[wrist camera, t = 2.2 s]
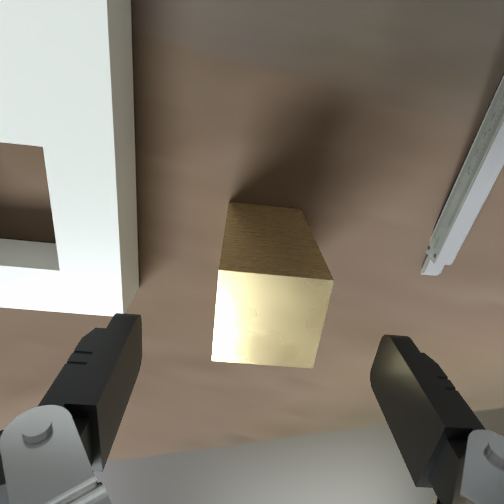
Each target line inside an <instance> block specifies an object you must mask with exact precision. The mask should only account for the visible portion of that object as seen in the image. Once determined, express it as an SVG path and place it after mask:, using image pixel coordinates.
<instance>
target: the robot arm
mask: <svg viewBox="0 0 504 504" xmlns="http://www.w3.org/2000/svg"><path fill="white" fill-rule="evenodd" d="M141 359H142V322H141V316H140V315H135V314H123V313H116V314H115V315H114V316H113V318H112V320H111V321H110V323H109V325H108V327H107V328H106V329H105V328H95V329H94V330H92V331H91V332H90V333H88V334H87V335H86V336H84V337H83V338H82V339H81V340H80V342H79V344H78V345H77V347H76V348H75V350H74V353H72V354H71V356H70V357H69V359H68V361H67V364H65V365H64V367H63V368H62V370H61V371H60V373H59V374H58V376H57V378H56V379H55V381H54V382H53V384H52V385H51V387H50V388H49V390H48V391H47V393H46V395H45V396H44V398H43V399H42V401H41V402H40V404H39V405H38V407H35V408H32V409H30V410H27V411H25V412H24V413H22V414H20V415H19V416H17V417H16V418H15V419H13V420H12V421H11V422H10V423H9V424H8V425H7V427H6V428H5V429H4V430H2V431H0V504H111V501H110V499H109V497H108V494H107V491H106V490H105V487H104V485H103V484H102V483H101V482H99V483H98V482H97V480H96V478H95V475H94V473H93V471H98V472H103V469H104V467H105V464H106V461H107V458H108V456H109V453H110V450H111V447H112V445H113V442H114V439H115V437H116V434H117V431H118V428H119V426H120V423H121V420H122V417H123V415H124V412H125V409H126V406H127V404H128V401H129V398H130V395H131V393H132V390H133V387H134V384H135V382H136V379H137V376H138V373H139V370H140V366H141ZM447 378H448V377H447V376H446V374H445V373H444V372H443V370H442V369H441V368H440V366H439V365H438V364H437V363H436V362H435V361H433V360H432V359H431V358H430V357H428V356H427V355H426V354H425V353H420V351H419V350H418V348H417V347H416V345H415V344H414V343H413V341H412V340H411V338H409V337H408V336H397V335H384V336H383V337H382V339H381V341H380V344H379V347H378V350H377V353H376V356H375V359H374V362H373V365H372V368H371V373H370V381H371V387H372V389H373V392H374V394H375V396H376V399H377V401H378V403H379V405H380V407H381V410H382V412H383V414H384V416H385V419H386V421H387V423H388V425H389V428H390V430H391V432H392V434H393V436H394V439H395V441H396V443H397V446H398V448H399V450H400V452H401V454H402V457H403V459H404V461H405V463H406V466H407V468H408V470H409V472H410V474H411V477H412V479H413V481H414V484H415V486H416V487H430V488H433V489H434V491H435V493H436V497H435V499H434V501H433V504H504V437H503V436H501V435H499V434H497V433H494V432H491V431H488V430H486V429H485V428H484V427H483V425H482V424H481V422H480V421H479V420H478V418H477V417H476V416H475V414H474V413H473V411H472V410H471V409H470V407H469V406H468V405H467V403H466V402H465V400H464V399H463V398H462V396H461V395H460V394H459V392H458V391H456V390H455V387H454V385H453V384H452V383H451V381H450V380H448V379H447Z"/></svg>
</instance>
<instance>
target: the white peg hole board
mask: <svg viewBox="0 0 504 504" xmlns="http://www.w3.org/2000/svg"><path fill="white" fill-rule="evenodd" d="M0 142H5V143H14V144H23V145H33V146H42V147H43V150H44V158H45V165H46V172H47V180H48V187H49V194H50V202H51V209H52V217H53V224H54V231H55V239H56V244H55V243H44V242H33V241H22V240H12V239H1V238H0V307H4V308H16V309H29V310H41V311H53V312H66V313H78V314H90V315H103V316H114V315H115V314H116V313H123V314H125V313H126V311H127V310H128V308H129V306H130V304H131V302H132V300H133V298H134V297H135V295H136V293H137V291H138V289H139V269H138V234H137V199H136V164H135V129H134V95H133V60H132V25H131V0H0Z"/></svg>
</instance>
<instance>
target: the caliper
mask: <svg viewBox="0 0 504 504" xmlns="http://www.w3.org/2000/svg"><path fill="white" fill-rule="evenodd" d="M503 165H504V74H503V76H502V78H501V80H500V83H499V85H498V87H497V89H496V91H495V94H494V96H493V98H492V100H491V103H490V105H489V107H488V109H487V112H486V114H485V116H484V118H483V121H482V123H481V125H480V127H479V130H478V132H477V134H476V136H475V138H474V141H473V143H472V145H471V147H470V150H469V152H468V154H467V156H466V158H465V161H464V163H463V165H462V167H461V169H460V172H459V174H458V176H457V178H456V180H455V183H454V185H453V187H452V189H451V191H450V194H449V196H448V198H447V200H446V202H445V205H444V207H443V209H442V211H441V214H440V216H439V218H438V220H437V222H436V225H435V227H434V230H433V233H432V236H431V239H430V242H429V245H428V249H427V252H426V253H427V257H426V259H425V262H424V264H423V266H422V268H421V271H420V274H421V275H438V274H440V273H441V271H442V269H443V267H444V265H451V264H452V263H453V261H454V259H455V257H456V255H457V253H458V251H459V249H460V247H461V245H462V243H463V242H464V240H465V238H466V236H467V234H468V232H469V230H470V228H471V226H472V224H473V222H474V220H475V219H476V217H477V215H478V213H479V211H480V209H481V207H482V205H483V203H484V201H485V199H486V198H487V196H488V194H489V192H490V190H491V188H492V186H493V184H494V182H495V180H496V178H497V176H498V174H499V172H500V171H501V169H502V167H503Z"/></svg>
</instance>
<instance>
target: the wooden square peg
mask: <svg viewBox="0 0 504 504" xmlns="http://www.w3.org/2000/svg"><path fill="white" fill-rule="evenodd" d="M333 283H334V279H333V277H332V275H331V273H330V271H329V269H328V266H327V264H326V262H325V260H324V258H323V256H322V254H321V252H320V249H319V247H318V245H317V243H316V241H315V239H314V237H313V234H312V232H311V230H310V228H309V226H308V224H307V222H306V219H305V217H304V215H303V213H302V211H301V209H294V208H285V207H275V206H265V205H255V204H246V203H236V202H229V205H228V211H227V218H226V225H225V232H224V238H223V245H222V252H221V259H220V266H219V274H218V287H217V299H216V311H215V324H214V336H213V349H212V361H221V362H234V363H248V364H261V365H275V366H289V367H302V368H313V366H314V361H315V357H316V353H317V349H318V345H319V341H320V336H321V332H322V328H323V324H324V320H325V316H326V312H327V307H328V303H329V299H330V295H331V291H332V287H333Z"/></svg>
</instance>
